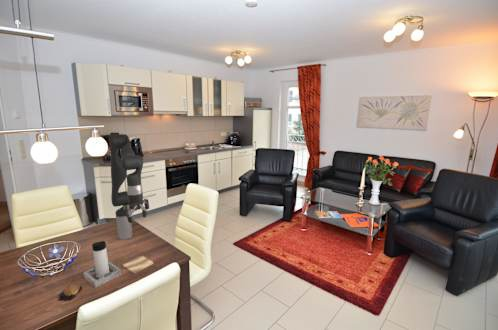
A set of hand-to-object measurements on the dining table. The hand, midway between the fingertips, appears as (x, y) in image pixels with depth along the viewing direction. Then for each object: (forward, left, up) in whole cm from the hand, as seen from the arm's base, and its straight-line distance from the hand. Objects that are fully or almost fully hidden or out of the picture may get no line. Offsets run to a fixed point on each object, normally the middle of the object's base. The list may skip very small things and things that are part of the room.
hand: (137, 219), depth 142 cm
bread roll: (-7, -34, -29) cm, 45 cm away
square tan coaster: (-2, -1, -29) cm, 29 cm away
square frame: (-8, -18, -29) cm, 35 cm away
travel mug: (-8, -18, -29) cm, 35 cm away
